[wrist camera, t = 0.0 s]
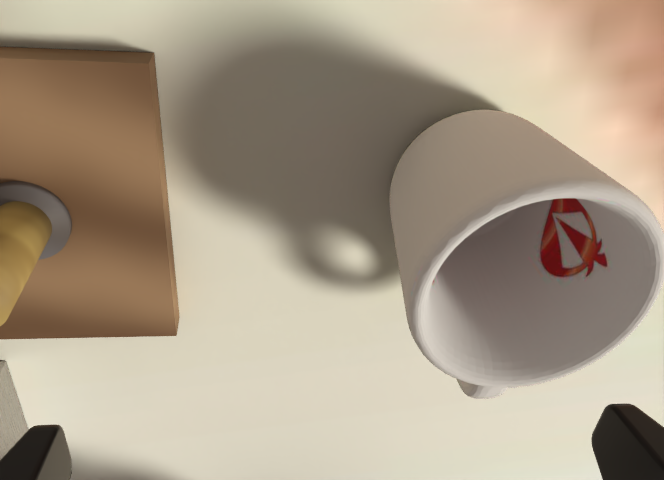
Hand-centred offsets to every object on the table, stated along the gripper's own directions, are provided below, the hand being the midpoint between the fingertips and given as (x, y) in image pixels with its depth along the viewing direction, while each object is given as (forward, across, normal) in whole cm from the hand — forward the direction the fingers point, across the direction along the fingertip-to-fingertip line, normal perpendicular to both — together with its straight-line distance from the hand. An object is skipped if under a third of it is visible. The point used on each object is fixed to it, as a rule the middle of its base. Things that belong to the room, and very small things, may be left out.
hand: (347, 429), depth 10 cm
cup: (+15, -7, +4) cm, 17 cm away
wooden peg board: (+15, +10, +4) cm, 18 cm away
